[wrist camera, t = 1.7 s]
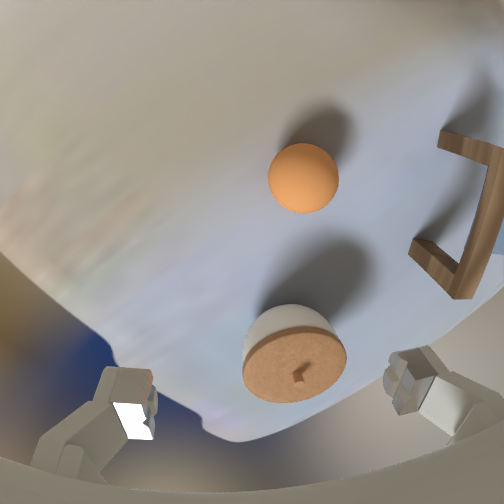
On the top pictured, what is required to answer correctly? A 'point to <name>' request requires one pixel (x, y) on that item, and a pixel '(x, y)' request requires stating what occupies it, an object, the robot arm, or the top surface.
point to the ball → (303, 178)
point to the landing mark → (500, 247)
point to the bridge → (483, 230)
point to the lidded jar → (291, 354)
